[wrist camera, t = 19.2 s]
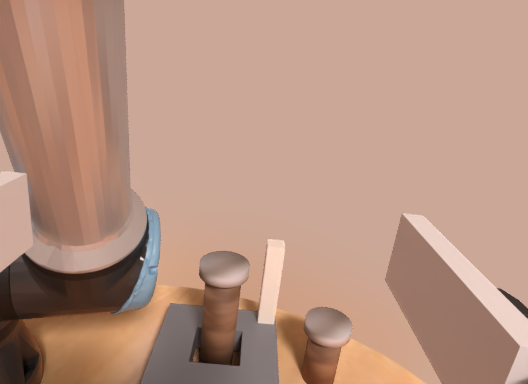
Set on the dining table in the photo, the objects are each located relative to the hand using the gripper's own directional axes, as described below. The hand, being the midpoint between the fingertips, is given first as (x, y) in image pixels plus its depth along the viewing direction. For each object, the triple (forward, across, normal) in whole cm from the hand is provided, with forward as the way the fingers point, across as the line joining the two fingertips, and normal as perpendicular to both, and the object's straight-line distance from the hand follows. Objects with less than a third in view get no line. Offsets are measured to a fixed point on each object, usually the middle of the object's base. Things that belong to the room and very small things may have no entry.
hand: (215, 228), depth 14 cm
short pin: (+28, +13, -34) cm, 46 cm away
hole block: (+28, -1, -34) cm, 44 cm away
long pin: (+28, -1, -34) cm, 44 cm away
